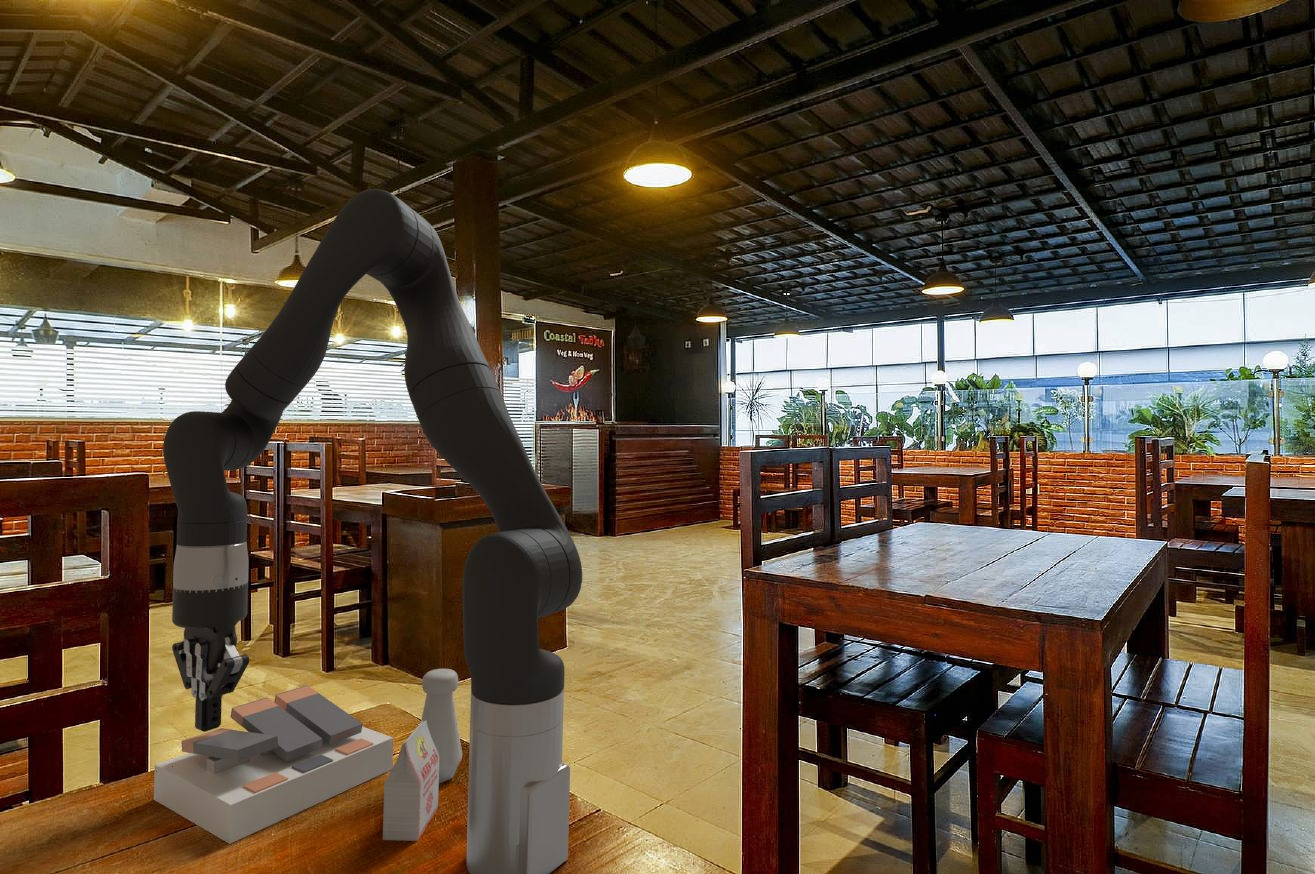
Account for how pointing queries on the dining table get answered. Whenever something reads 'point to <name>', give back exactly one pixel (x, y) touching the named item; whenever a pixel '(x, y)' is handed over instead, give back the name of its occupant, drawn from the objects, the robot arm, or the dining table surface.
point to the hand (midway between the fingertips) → (207, 728)
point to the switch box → (266, 783)
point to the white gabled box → (412, 788)
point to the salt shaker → (442, 719)
